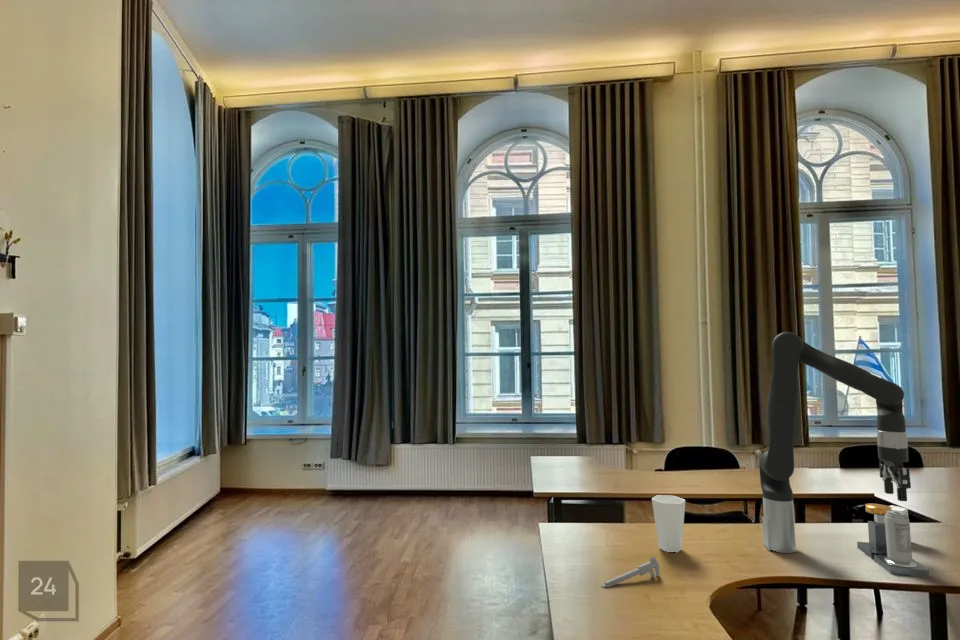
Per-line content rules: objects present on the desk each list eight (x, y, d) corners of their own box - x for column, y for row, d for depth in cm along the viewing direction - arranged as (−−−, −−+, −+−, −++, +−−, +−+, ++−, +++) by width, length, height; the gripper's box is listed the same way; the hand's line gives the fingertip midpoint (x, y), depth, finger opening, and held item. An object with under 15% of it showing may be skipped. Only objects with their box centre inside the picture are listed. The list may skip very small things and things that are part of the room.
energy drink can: (903, 557, 162) (899, 509, 163) (917, 565, 156) (913, 515, 157) (883, 557, 162) (879, 509, 164) (896, 565, 156) (892, 515, 158)
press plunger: (873, 536, 168) (871, 508, 169) (863, 529, 175) (861, 502, 176) (898, 538, 167) (896, 510, 167) (886, 531, 173) (885, 504, 174)
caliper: (657, 576, 156) (656, 555, 157) (659, 577, 155) (659, 556, 156) (600, 587, 149) (600, 565, 150) (603, 589, 148) (602, 566, 149)
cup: (693, 552, 174) (691, 501, 175) (670, 557, 170) (668, 505, 171) (670, 541, 184) (668, 493, 185) (647, 545, 180) (646, 496, 181)
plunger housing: (871, 558, 167) (869, 527, 168) (857, 547, 177) (855, 518, 177) (907, 561, 164) (905, 529, 165) (891, 549, 174) (889, 520, 175)
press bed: (890, 573, 155) (890, 566, 155) (874, 561, 165) (874, 554, 165) (929, 577, 153) (929, 569, 153) (910, 563, 162) (910, 556, 163)
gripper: (868, 441, 170) (871, 490, 169) (889, 448, 156) (892, 502, 155) (895, 442, 167) (898, 492, 166) (918, 449, 154) (922, 504, 153)
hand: (895, 497), depth 161 cm, fingers open, 8 cm apart
